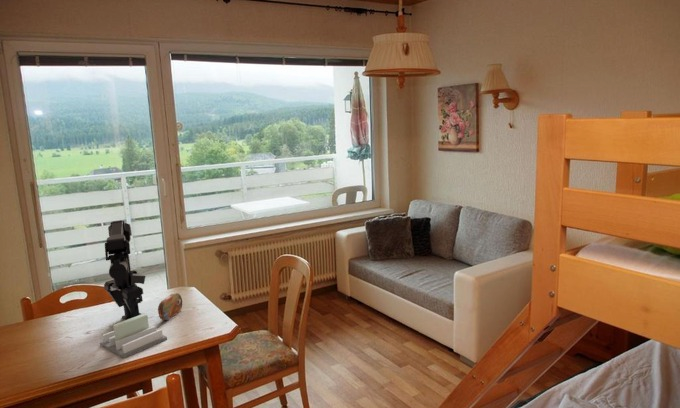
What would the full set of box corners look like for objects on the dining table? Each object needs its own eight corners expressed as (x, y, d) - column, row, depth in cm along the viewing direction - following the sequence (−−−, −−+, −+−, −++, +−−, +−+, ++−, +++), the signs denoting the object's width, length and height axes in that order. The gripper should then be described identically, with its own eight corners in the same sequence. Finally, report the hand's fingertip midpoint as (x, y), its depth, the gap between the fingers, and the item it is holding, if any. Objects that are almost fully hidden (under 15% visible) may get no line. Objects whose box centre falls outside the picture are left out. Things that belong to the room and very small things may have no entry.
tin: (165, 323, 195) (162, 304, 193) (158, 323, 195) (155, 304, 194) (183, 308, 209) (181, 290, 208) (177, 308, 210) (175, 290, 208)
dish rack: (100, 345, 178) (98, 335, 178) (142, 328, 191) (141, 318, 191) (123, 358, 167) (121, 347, 166) (167, 339, 180) (165, 329, 179)
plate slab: (116, 345, 175) (113, 325, 174) (146, 332, 184) (143, 313, 183) (119, 347, 174) (116, 326, 172) (150, 334, 183) (147, 314, 181)
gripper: (153, 268, 178) (158, 307, 182) (128, 260, 190) (134, 297, 193) (124, 277, 170) (131, 318, 173) (100, 268, 182) (106, 306, 185)
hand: (126, 309), depth 181 cm, fingers open, 9 cm apart
